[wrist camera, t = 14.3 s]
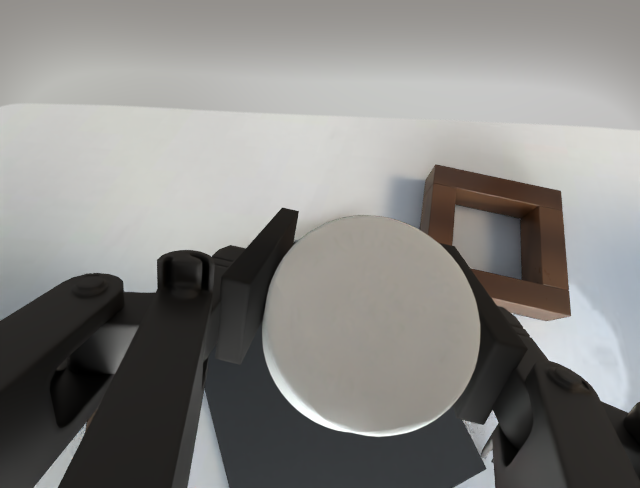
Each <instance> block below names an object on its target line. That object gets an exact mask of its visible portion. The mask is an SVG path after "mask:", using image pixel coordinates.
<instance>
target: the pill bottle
mask: <svg viewBox="0 0 640 488" xmlns="http://www.w3.org/2000/svg"><path fill="white" fill-rule="evenodd" d="M262 342H263V351H264V355H265V360H266V363H267V366H268V369H269V371H270V374H271V376H272V378H273V380H274V382H275V384H276V385H277V387H278V388H279V390H280V391H281V393H282V394H283V395H284V397H285V398H286V399H287V400H288V401H289V402H290V404H291V405H293V406H294V407H295V408H296V409H297V410H298V411H299V412H301V413H302V414H303V415H304V416H306V417H308V418H309V419H311V420H312V421H314V422H316V423H318V424H320V425H323V426H325V427H328V428H331V429H334V430H338V431H343V432H352V433H356V434H361V435H366V436H377V437H380V436H392V435H398V434H403V433H408V432H411V431H414V430H417V429H419V428H421V427H424V426H426V425H428V424H429V423H431V422H433V421H435V420H436V419H437V418H439V417H440V416H441V415H442V414H444V413H445V412H446V411H447V410H449V409H450V408H451V407H452V405H453V404H454V403H455V402H456V401H457V400H458V398H459V397H460V396H461V394H462V393H463V391H464V390H465V388H466V386H467V385H468V383H469V381H470V379H471V376H472V374H473V372H474V370H475V366H476V362H477V358H478V352H479V346H480V320H479V313H478V308H477V304H476V300H475V297H474V294H473V292H472V289H471V287H470V285H469V283H468V280H467V278H466V276H465V275H464V273H463V271H462V270H461V268H460V267H459V265H458V264H457V263H456V261H455V260H454V259H453V257H452V256H451V255H450V254H449V253H448V252H447V251H446V250H445V249H444V248H443V247H442V246H441V245H440V244H439V243H438V242H436V241H435V240H434V239H433V238H431V237H430V236H428V235H427V234H425V233H424V232H422V231H421V230H419V229H417V228H415V227H413V226H411V225H409V224H407V223H404V222H401V221H398V220H395V219H391V218H387V217H382V216H370V215H358V216H350V217H343V218H340V219H336V220H333V221H330V222H328V223H326V224H323V225H321V226H319V227H317V228H315V229H314V230H312V231H310V232H309V233H307V234H306V235H305V236H303V237H302V238H301V239H300V240H299V241H298V242H296V243H295V244H294V245H293V246H292V248H291V249H290V250H289V251H288V253H287V254H286V255H285V256H284V257H283V259H282V261H281V262H280V264H279V266H278V268H277V269H276V271H275V273H274V276H273V278H272V280H271V283H270V286H269V290H268V294H267V299H266V305H265V311H264V315H263V323H262Z"/></svg>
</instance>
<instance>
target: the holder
mask: <svg viewBox="0 0 640 488" xmlns="http://www.w3.org/2000/svg"><path fill="white" fill-rule="evenodd" d="M455 204H456V205H460V206H465V207H469V208H474V209H479V210H483V211H488V212H493V213H497V214H502V215H506V216H511V217H516V218H520V219H521V265H522V280H520V279H515V278H511V277H506V276H502V275H497V274H493V273H489V272H484V271H480V270H475V269H471V268H470V269H471V270H472V272H473V273H474V274H475V276H476V277H477V279H478V280H479V281H480V283H481V284H482V285H483V287H484V288H485V290H486V291H487V292H488V294H489V295H490V297H491V298H492V299H493V301H494V302H495V304H496V305H497V306H501V307H503V308H505V309H506V310H507V311H508V312H510V313H514V314H518V315H523V316H527V317H531V318H536V319H540V320H544V321H550V320H554V319H559V318H564V317H569V316H571V310H570V298H569V291H568V290H569V286H568V273H567V261H566V248H565V236H564V223H563V211H562V198H561V191H558V190H554V189H549V188H544V187H540V186H535V185H530V184H525V183H521V182H516V181H511V180H507V179H502V178H497V177H492V176H488V175H483V174H478V173H474V172H469V171H464V170H459V169H455V168H450V167H445V166H441V165H435V166H434V167H433V169H432V171H431V172H430V174H429V175H428V177H427V178H426V180H425V188H424V198H423V206H422V214H421V223H420V230H421V231H422V232H424V233H425V234H427V235H428V236H430V237H431V238H433V239H434V240H435V241H436V242H438V243H442V244H446V245H451V246H452V242H453V227H454V213H455Z"/></svg>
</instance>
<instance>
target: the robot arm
mask: <svg viewBox="0 0 640 488" xmlns="http://www.w3.org/2000/svg"><path fill="white" fill-rule="evenodd" d="M298 213H299V211H295V210H290V209H286V208H282V209H281V210H280V211H279V212H278V213H277V214H276V215H275V216H274V218H273V219H272V220H271V221H270V222H269V223H268V224H267V226H266V227H265V228H264V229H263V230H262V231H261V232H260V233H259V235H258V236H257V237H256V238H255V239H254V240H253V241H252V242H251V244H250V245H249V246H248V247H247V248H246V249H245V248H241V247H236V246H232V245H230V246H227V247H225V248H222V249H219V250H218V251H217V252H216V253H215V254H214V255H213V256H212V257H211V256H209V255H207V254H205V253H202V252H198V251H193V250H179V251H173V252H169V253H167V254H164V255H162V256H161V257H160V258H159V259H158V260H157V279H158V289H157V291H156V293H135V292H124V290H123V281H122V280H121V279H120V278H119V277H116V276H113V275H110V274H101V273H93V274H92V273H90V274H84V275H81V276H77V277H73V278H71V279H69V280H67V281H64V282H62V283H61V284H59V285H58V286H56V287H54V288H53V289H51V290H50V291H48V292H46V293H45V294H43V295H42V296H40V297H38V298H37V299H35V300H33V301H32V302H30V303H29V304H27V305H25V306H24V307H22V308H21V309H19V310H17V311H16V312H14V313H12V314H11V315H9V316H8V317H6V318H4V319H3V320H1V321H0V488H33V487H34V486H35V485H36V484H37V482H38V481H39V480H40V479H41V477H42V476H43V475H44V474H45V472H46V471H47V470H48V469H49V468H50V466H51V465H52V464H53V463H54V461H55V460H56V459H57V458H58V456H59V455H60V454H61V453H62V451H63V450H64V449H65V448H66V446H67V445H68V444H69V443H70V442H71V440H72V439H73V438H74V437H75V435H76V434H77V433H78V432H79V430H80V429H81V428H82V427H83V425H84V424H85V423H86V422H87V421H88V419H89V418H90V417H91V416H92V414H93V413H94V412H95V411H96V409H97V408H98V409H97V411H96V413H95V415H94V417H93V419H92V421H91V423H90V425H89V427H88V429H87V431H86V433H85V435H84V437H83V439H82V441H81V443H80V445H79V447H78V449H77V451H76V453H75V455H74V457H73V459H72V461H71V463H70V465H69V467H68V469H67V471H66V473H65V475H64V477H63V479H62V481H61V483H60V485H59V487H58V488H187V486H188V480H189V474H190V469H191V463H192V457H193V451H194V445H195V440H196V434H197V428H198V422H199V416H200V410H201V405H202V399H203V393H204V387H205V381H206V376H207V370H208V358H209V354H210V353H211V351H212V350H213V348H214V347H215V345H216V352H215V359H219V360H223V361H227V362H231V363H235V364H239V365H241V363H242V361H243V359H244V357H245V355H246V353H247V351H248V349H249V346H250V344H251V342H252V340H253V338H254V336H255V334H256V332H257V330H258V328H259V326H260V324H261V322H262V320H263V315H264V311H265V305H266V299H267V294H268V290H269V286H270V283H271V280H272V278H273V276H274V273H275V271H276V269H277V268H278V266H279V264H280V262H281V261H282V259H283V257H284V256H285V255H286V254H287V253H288V251H289V250H290V249H291V248H292V246H293V242H294V236H295V230H296V225H297V219H298ZM439 244H440V245H441V246H442V247H443V248H444V249H445V250H446V251H447V252H448V253H449V254H450V255H451V256H452V257H453V259H454V260H455V261H456V263H457V264H458V265H459V267H460V268H461V270H462V271H463V273H464V275H465V276H466V278H467V280H468V283H469V285H470V287H471V289H472V292H473V294H474V297H475V300H476V304H477V308H478V313H479V320H480V346H479V352H478V358H477V362H476V366H475V370H474V372H473V374H472V376H471V379H470V381H469V383H468V385H467V386H466V388H465V390H464V391H463V393H462V394H461V396H460V397H459V398H458V400H457V401H456V402H455V403H454V404H453V405H452V406H453V409H454V412H455V415H456V418H458V419H462V420H466V421H470V422H474V423H478V424H482V425H484V424H485V422H486V420H487V418H488V417H489V415H490V413H491V411H492V410H493V411H494V413H495V415H496V417H497V420H498V422H499V423H498V425H497V427H496V428H495V430H494V432H493V433H492V435H491V436H490V438H489V440H488V441H487V443H486V445H485V446H484V448H483V450H482V453H481V457H483V458H486V456H487V455H488V453H489V452H490V451H491V450H493V459H492V462H493V463H494V474H495V488H640V402H638V403H637V404H636V405H635V406H634V407H633V409H632V410H631V411H630V412H629V413H627V412H625V411H622V410H620V409H618V408H615V407H613V406H611V405H608V404H606V403H604V402H601V401H600V399H599V397H598V395H597V393H596V392H595V390H594V389H593V388H592V386H591V385H590V384H589V383H588V382H587V381H585V380H584V379H583V378H582V377H581V376H579V375H578V374H576V373H575V372H573V371H572V370H570V369H568V368H566V367H564V366H562V365H560V364H557V363H554V362H551V361H549V360H548V359H547V357H546V356H545V355H544V354H543V352H542V351H541V350H540V348H539V347H538V346H537V344H536V343H535V342H534V341H533V339H532V338H530V337H529V336H530V335H529V334H528V333H527V331H526V330H525V329H523V326H522V325H521V324H520V322H519V321H518V320H517V318H516V317H515V316H513V315H512V314H511V313H510V312H508V311H507V310H506V309H505V308H503V307H501V306H497V305H496V304H495V302H494V301H493V299H492V298H491V297H490V295H489V294H488V292H487V291H486V290H485V288H484V287H483V285H482V284H481V283H480V281H479V280H478V279H477V277H476V276H475V274H474V273H473V272H472V270H471V269H470V267H469V266H468V265H467V263H466V262H465V260H464V259H463V258H462V256H461V255H460V253H459V252H458V251H457V249H456V248H455V246H451V245H446V244H442V243H439Z"/></svg>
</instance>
